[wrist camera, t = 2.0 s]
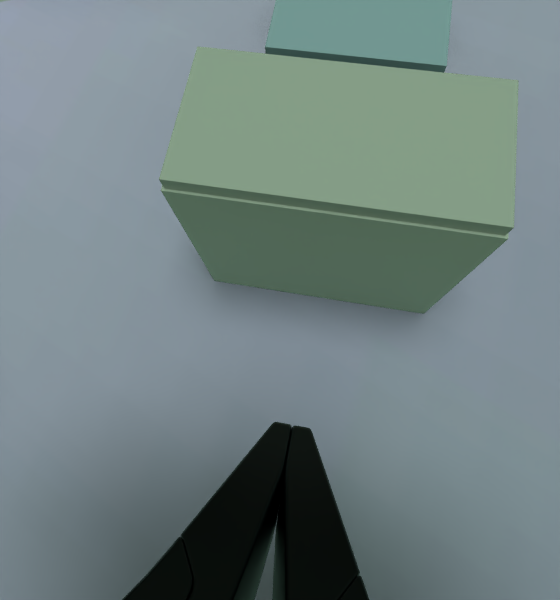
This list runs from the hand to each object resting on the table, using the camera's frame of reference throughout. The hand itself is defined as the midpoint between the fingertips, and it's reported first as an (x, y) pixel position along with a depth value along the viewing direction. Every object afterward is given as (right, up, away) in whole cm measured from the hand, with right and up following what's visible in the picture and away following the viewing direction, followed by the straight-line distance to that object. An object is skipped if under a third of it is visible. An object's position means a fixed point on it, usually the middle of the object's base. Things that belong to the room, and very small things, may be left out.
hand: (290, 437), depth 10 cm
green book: (+2, +6, +15) cm, 17 cm away
